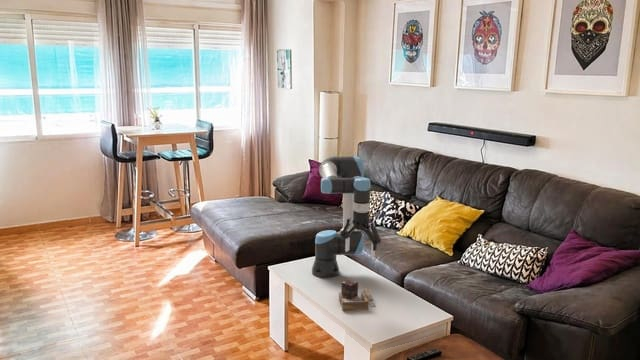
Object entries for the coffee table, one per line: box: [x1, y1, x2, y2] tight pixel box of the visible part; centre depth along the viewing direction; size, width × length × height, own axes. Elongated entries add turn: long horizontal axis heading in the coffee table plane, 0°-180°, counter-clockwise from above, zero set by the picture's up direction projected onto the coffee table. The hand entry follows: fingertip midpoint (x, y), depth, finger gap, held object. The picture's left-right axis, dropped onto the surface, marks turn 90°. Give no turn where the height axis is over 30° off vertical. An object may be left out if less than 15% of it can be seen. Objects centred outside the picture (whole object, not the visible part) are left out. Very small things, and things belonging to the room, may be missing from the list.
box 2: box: [338, 291, 369, 312], centre depth 246 cm, size 12×12×4 cm
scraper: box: [363, 287, 376, 308], centre depth 252 cm, size 17×2×2 cm, turn 7°
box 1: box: [340, 278, 359, 300], centre depth 255 cm, size 6×6×7 cm
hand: (359, 253), depth 246 cm, fingers open, 13 cm apart
